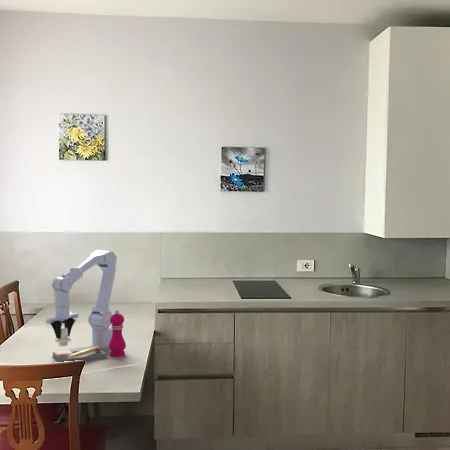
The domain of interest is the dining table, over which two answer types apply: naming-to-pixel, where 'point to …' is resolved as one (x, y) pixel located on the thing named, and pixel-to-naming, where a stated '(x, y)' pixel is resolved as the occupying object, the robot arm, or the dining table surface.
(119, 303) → the dining table surface
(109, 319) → the robot arm
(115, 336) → the pepper mill
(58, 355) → the socket block
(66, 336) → the plug
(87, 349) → the bar
